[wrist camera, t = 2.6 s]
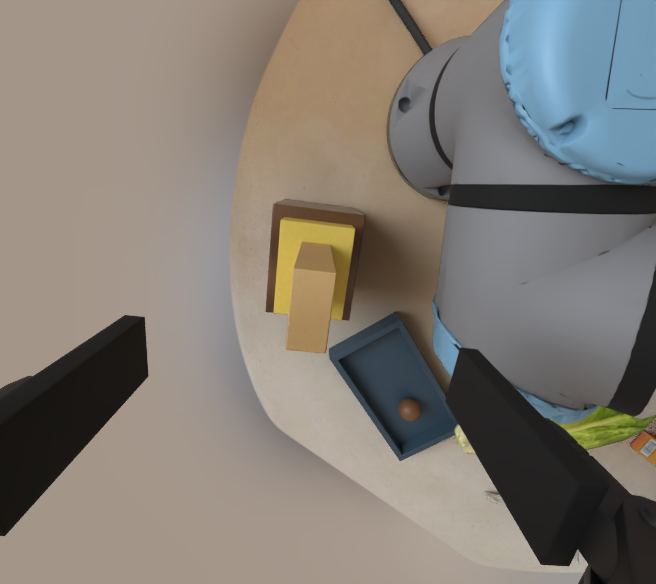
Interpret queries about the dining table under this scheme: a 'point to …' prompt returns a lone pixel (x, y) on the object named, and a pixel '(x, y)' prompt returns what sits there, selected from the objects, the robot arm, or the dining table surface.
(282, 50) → the dining table surface
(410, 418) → the brown ball
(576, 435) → the lettuce
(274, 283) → the wooden block
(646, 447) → the supplement box
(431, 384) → the tray
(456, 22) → the dining table surface
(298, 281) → the yellow based tan block
